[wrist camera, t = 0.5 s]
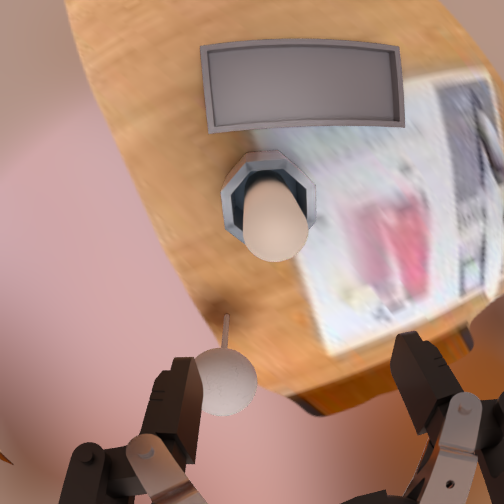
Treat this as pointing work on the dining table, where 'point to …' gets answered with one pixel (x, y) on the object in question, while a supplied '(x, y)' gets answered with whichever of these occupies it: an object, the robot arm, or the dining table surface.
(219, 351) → the lollipop
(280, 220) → the peg
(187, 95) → the dining table surface
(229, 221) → the grey octagonal collar
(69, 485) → the robot arm
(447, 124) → the dining table surface
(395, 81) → the tray
